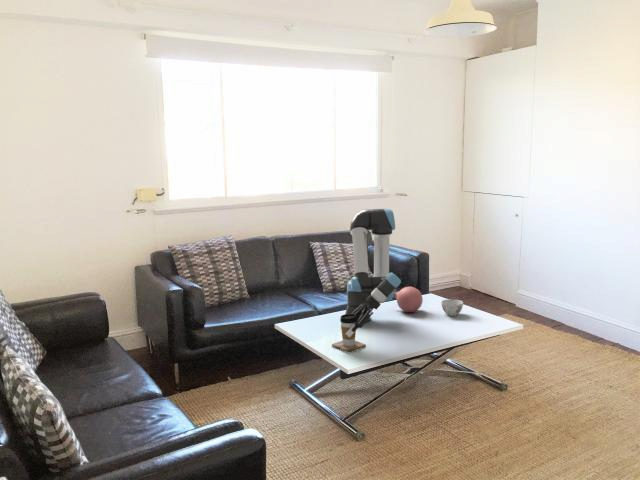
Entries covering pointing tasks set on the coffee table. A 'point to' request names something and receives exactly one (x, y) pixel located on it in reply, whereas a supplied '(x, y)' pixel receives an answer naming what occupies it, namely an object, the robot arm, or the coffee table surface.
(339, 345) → the plate
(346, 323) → the coffee cup
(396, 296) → the pink rubber ball
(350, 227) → the robot arm
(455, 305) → the teacup
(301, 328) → the coffee table surface
